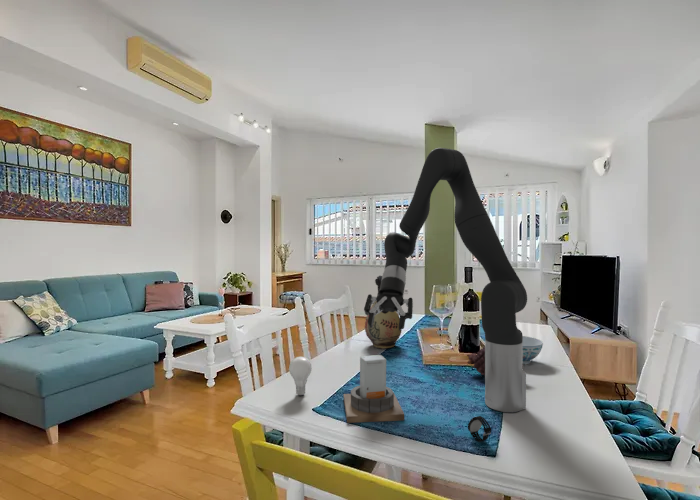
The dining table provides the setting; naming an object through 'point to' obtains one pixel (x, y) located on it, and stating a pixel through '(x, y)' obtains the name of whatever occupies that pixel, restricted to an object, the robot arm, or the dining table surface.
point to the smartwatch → (476, 425)
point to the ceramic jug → (383, 326)
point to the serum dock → (372, 407)
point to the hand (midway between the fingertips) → (385, 327)
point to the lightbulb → (300, 373)
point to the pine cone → (478, 361)
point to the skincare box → (372, 376)
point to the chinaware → (531, 348)
